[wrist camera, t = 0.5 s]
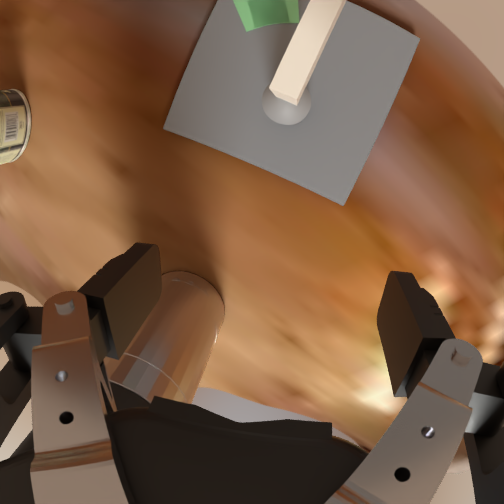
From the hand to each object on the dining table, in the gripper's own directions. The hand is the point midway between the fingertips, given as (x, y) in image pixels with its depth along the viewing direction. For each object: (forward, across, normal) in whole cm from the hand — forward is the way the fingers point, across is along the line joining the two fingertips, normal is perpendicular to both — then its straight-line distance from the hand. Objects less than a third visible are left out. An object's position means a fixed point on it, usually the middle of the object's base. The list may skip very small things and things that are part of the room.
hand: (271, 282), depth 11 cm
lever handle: (+19, +1, +11) cm, 22 cm away
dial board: (+21, 0, +9) cm, 23 cm away
